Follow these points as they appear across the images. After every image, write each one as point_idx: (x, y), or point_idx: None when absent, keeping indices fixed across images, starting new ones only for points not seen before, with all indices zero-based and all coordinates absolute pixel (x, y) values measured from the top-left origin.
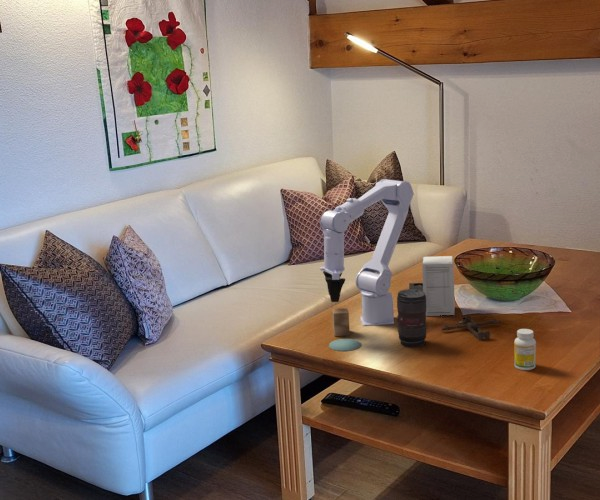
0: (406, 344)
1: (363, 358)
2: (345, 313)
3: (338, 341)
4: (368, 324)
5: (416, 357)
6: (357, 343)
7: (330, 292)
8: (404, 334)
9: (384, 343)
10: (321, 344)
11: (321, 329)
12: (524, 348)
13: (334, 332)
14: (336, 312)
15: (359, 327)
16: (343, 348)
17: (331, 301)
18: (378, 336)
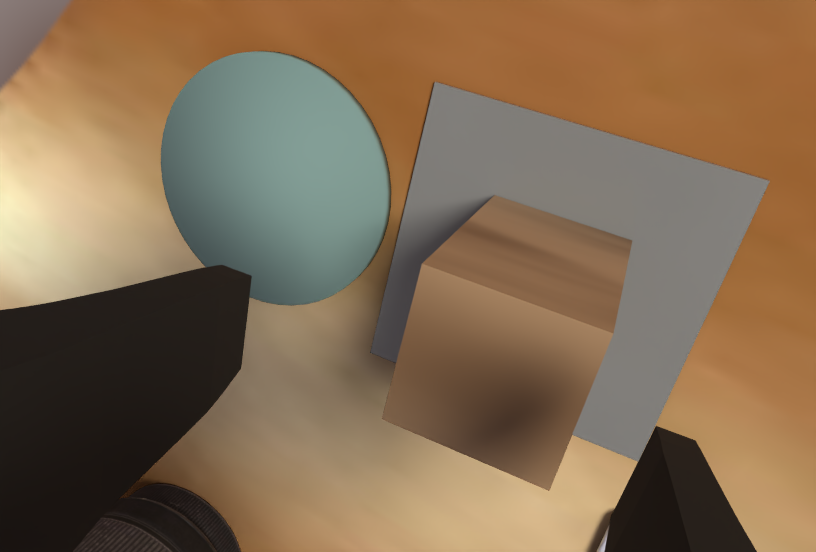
0: (129, 496)
1: (48, 197)
2: (394, 385)
3: (340, 166)
4: (601, 548)
5: None
6: (252, 275)
7: (64, 310)
8: None
9: (234, 428)
10: (379, 13)
11: (790, 164)
12: None
13: (488, 204)
14: (448, 313)
15: (620, 474)
16: (192, 140)
17: (213, 267)
18: (363, 469)
